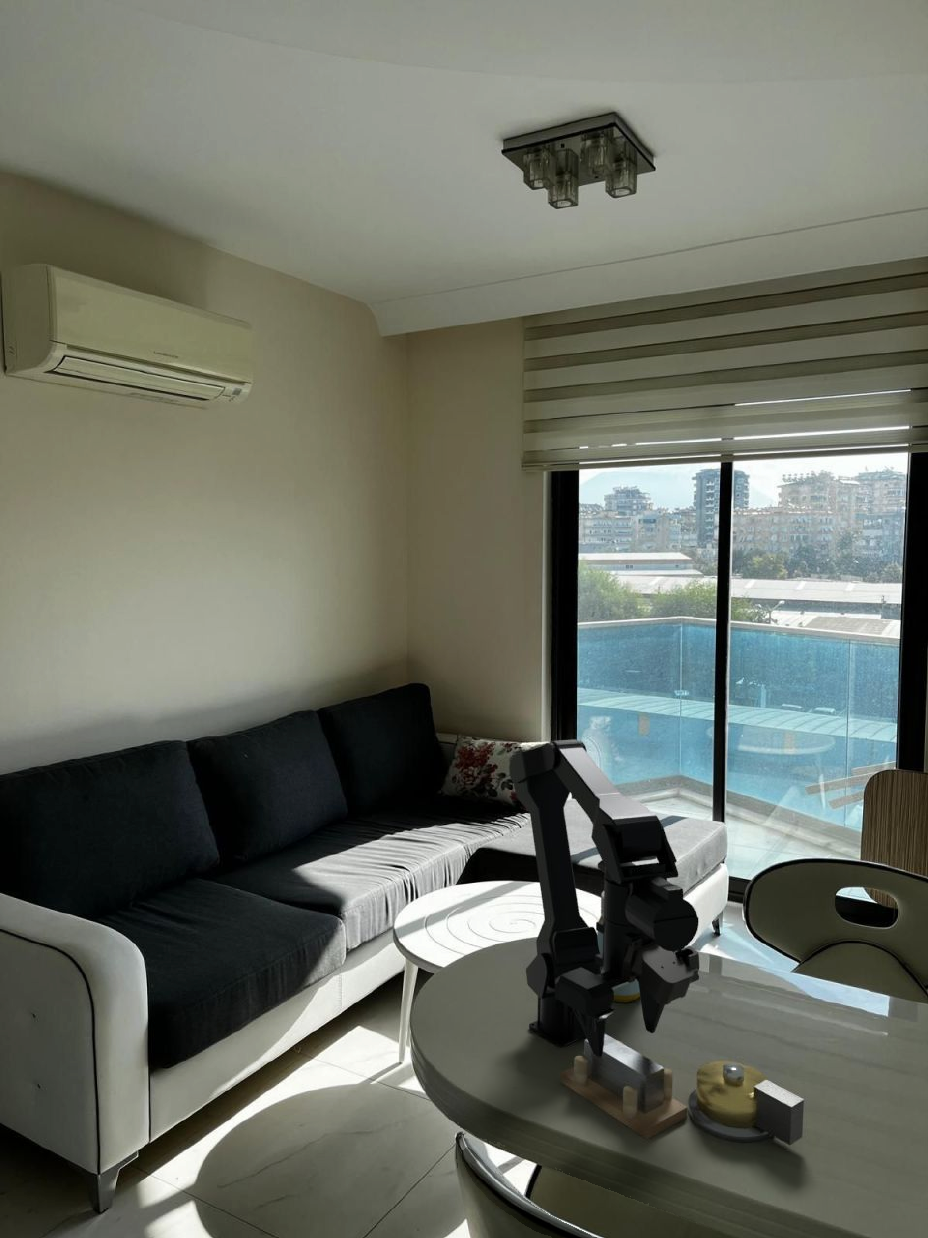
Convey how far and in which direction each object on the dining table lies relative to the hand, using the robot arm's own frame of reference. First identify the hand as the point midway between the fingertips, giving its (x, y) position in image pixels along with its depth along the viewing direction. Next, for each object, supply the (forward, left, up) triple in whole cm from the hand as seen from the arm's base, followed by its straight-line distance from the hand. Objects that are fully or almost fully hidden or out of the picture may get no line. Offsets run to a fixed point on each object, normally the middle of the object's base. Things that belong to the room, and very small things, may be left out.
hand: (624, 1043), depth 112 cm
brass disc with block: (+12, +8, -6) cm, 16 cm away
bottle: (-19, +20, -7) cm, 29 cm away
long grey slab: (0, 0, -6) cm, 6 cm away
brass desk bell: (+10, +8, -7) cm, 15 cm away
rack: (0, 0, -7) cm, 7 cm away
